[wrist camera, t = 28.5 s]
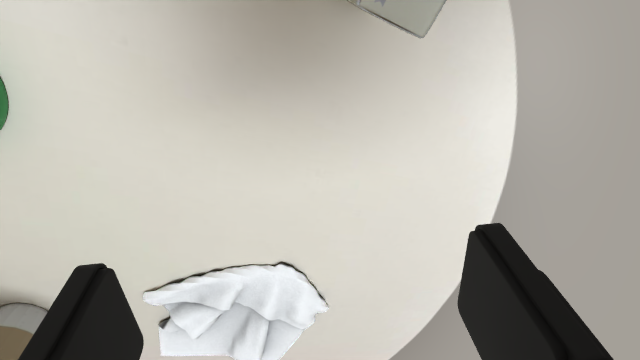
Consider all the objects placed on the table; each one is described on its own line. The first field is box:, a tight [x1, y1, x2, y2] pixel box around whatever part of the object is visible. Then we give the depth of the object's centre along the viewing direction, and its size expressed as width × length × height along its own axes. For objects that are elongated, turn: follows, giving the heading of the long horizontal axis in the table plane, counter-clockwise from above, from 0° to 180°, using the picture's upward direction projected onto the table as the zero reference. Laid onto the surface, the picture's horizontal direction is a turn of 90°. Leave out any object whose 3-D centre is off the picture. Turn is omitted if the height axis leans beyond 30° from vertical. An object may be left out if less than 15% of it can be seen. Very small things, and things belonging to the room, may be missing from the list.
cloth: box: [143, 263, 329, 360], centre depth 48 cm, size 20×22×2 cm
